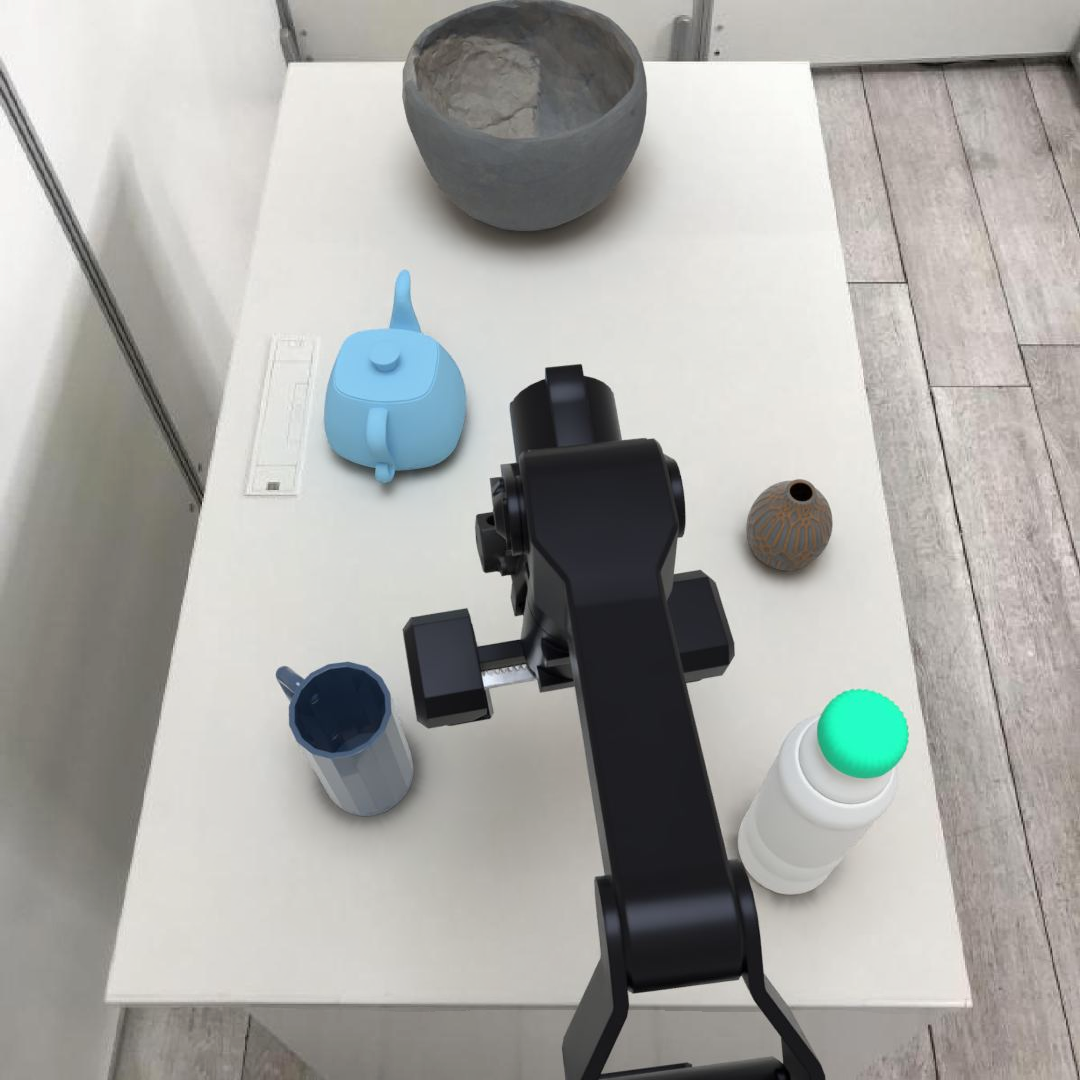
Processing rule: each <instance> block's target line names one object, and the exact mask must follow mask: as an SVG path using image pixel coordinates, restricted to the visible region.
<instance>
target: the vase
mask: <svg viewBox="0 0 1080 1080" xmlns="http://www.w3.org/2000/svg"><path fill="white" fill-rule="evenodd" d="M833 523H834V521H833V513H832V510H831V506H830V504H829V502H828V500H827V498H826V497H825V496H824V494H823V493H822V492H821V491H820V490H819V489H817V488H816V487H815V486H814V484H813V483H811V482H810V481H809V480H806V479H802V478H797V479H794V480H793V479H792V480H783V481H779V482H776V483H774V484H772V485H769V487H767V488H766V489H764V490H763V491H762V492H761V493H760V494H759V495H758V496H757V497H756V499H755V500H754V502H753V503H752V505H751V508H750V509H749V512H748V515H747V519H746V537H747V541H748V544H749V547H750V548H751V550H752V553H754V556H756V557H757V558H758V560H759V561H761V562H762V564H765V565H767V566H768V567H771V568H773V569H776V570H781V571H796V570H800V569H802V568H806V567H807V566H809V565H810V564H812V563H813V562H815V561H816V560H817V559H818V558H819V557H820V556H821V555H822V554H823V552H825V550H826V548H827V546H828V544H829V542H830V540H831V536H832V533H833V527H834V526H833Z"/></svg>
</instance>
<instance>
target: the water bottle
mask: <svg viewBox="0 0 1080 1080" xmlns="http://www.w3.org/2000/svg"><path fill="white" fill-rule="evenodd" d="M907 722H908V720H907V718H906V717H905V715H904V712H903V711H902V710H901V709H900V706H899V705H896V704H895V702H894V701H893V700H890V699H889V697H888V696H885V695H883V694H882V693H881V692H877V691H875V690H869V689H868V688H865V689H862V688H857V689H854V688H851V689H849V690H844V691H842V692H841V693H839V694H837V695H835V697H834V698H832V699H830V701H829V703H827V705H826V706H825V707H824V709H823V710H822V712H821V713H818V714H814V715H811V716H809V717H807V718H805V719H803V720H802V721H800V722H798V723H797V724H796V725H795V726H794V727H793V728H792V729H790V730H789V732H788V734H787V735H786V736H785V737H784V739H783V741H782V743H781V745H780V748H779V750H778V754H777V755H776V757H775V758H774V760H773V762H772V763H771V765H770V767H769V768H768V770H767V773H766V775H765V777H764V779H763V781H762V784H761V786H760V788H759V790H758V792H757V793H756V794H755V796H754V798H753V800H752V802H751V804H750V807H749V809H748V810H747V812H746V813H745V814H744V817H743V819H742V820H741V823H740V826H739V829H738V833H737V848H738V853H739V857H740V861H741V862H742V863H743V866H744V868H745V870H746V872H747V873H748V875H750V876H751V877H752V879H754V880H755V881H756V882H757V883H758V884H759V885H760V886H762V887H764V888H766V889H767V890H770V891H771V892H774V893H777V894H780V895H781V894H782V895H792V896H793V895H802V894H805V893H809V892H811V891H812V890H814V889H816V888H817V887H819V886H820V885H821V884H822V883H823V882H825V881H826V879H827V878H828V877H829V876H830V875H831V873H832V871H833V870H834V869H835V868H836V867H837V866H838V865H839V864H840V863H841V862H842V861H843V860H844V858H845V856H846V854H847V853H849V852H850V851H851V850H852V849H853V848H854V847H855V846H856V845H857V844H858V843H859V842H860V840H861V839H863V837H864V836H865V835H866V834H867V832H868V831H869V830H870V829H871V827H872V826H873V825H874V823H875V822H876V821H877V820H879V819H880V818H881V817H882V816H883V815H884V814H885V813H886V812H887V811H888V809H889V808H890V806H891V805H892V803H893V802H894V799H895V796H896V794H897V792H898V791H897V790H898V786H899V768H898V764H899V762H900V761H901V760H902V759H903V757H904V755H905V754H906V752H907V749H908V744H909V741H910V739H909V738H910V732H909V725H908V724H907Z"/></svg>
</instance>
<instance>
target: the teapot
mask: <svg viewBox="0 0 1080 1080" xmlns="http://www.w3.org/2000/svg"><path fill="white" fill-rule="evenodd" d="M411 278H412V277H411V273H410V271H409V270H408V269H402V270H400V272H399V273H398V274H397V276H396V280H395V284H394V294H393V303H392V310H391V316H390V321H389V326H388V328H374V329H373V328H371V329H365V330H361V331H357V332H353V333H352V334H350V335H348V336H347V337H346V338H345V339H344V340H343V342H342V344H341V345H340V348H339V351H338V353H337V356H336V358H335V360H334V363H333V366H332V369H331V372H330V375H329V378H328V382H327V386H326V390H325V399H324V410H323V411H324V412H323V425H324V432H325V437H326V440H327V443H328V444H329V447H330V448H331V449H332V450H333V451H334V452H335V454H337V455H338V456H340V457H342V458H343V459H345V460H348V461H350V462H352V463H354V464H357V465H361V466H364V467H368V468H372V469H375V473H374V479H375V480H376V481H377V482H378V483H382V484H386V483H390V482H392V480H393V479H394V477H395V473H396V471H412V470H419V469H424V468H428V467H429V468H430V467H433V466H435V465H437V464H440V463H442V462H443V461H445V460H446V459H447V458H448V457H450V455H451V454H452V453H453V452H454V450H455V449H456V447H457V445H458V443H459V440H460V437H461V435H462V431H463V427H464V424H465V419H466V413H467V412H466V411H467V395H466V394H467V392H466V384H465V381H464V378H463V375H462V373H461V370H460V367H459V366H458V364H457V362H456V361H455V359H454V358H453V357H452V355H451V354H450V353H449V352H448V351H447V350H446V349H445V347H444V346H443V345H442V344H440V343H439V342H438V341H437V340H436V339H435V338H433V337H432V336H430V335H428V334H425V333H422V329H421V328H422V327H421V325H420V323H419V320H418V317H417V315H416V312H415V309H414V306H413V302H412V296H411V294H412V293H411V287H412V286H411V285H412V282H411V281H412V279H411Z"/></svg>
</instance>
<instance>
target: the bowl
mask: <svg viewBox="0 0 1080 1080" xmlns="http://www.w3.org/2000/svg"><path fill="white" fill-rule="evenodd" d="M647 83H648V82H647V75H646V70H645V66H644V61H643V59H642V56H641V54H640V51H639V50H638V47H637V46H636V44H635V43H634V41H633V39H631V38H630V36H629V35H628V34H627V33H626V32H625V31H624V30H623V29H622V27H620V25H618V24H617V23H616V22H615V21H614V20H613V19H611V18H610V17H609V16H607V15H605V14H603V13H601V12H599V11H596V10H593V9H590V8H588V7H586V6H582V5H578V4H575V3H571V2H568V1H565V0H564V1H563V0H491V1H487V2H484V3H479V4H476V5H471V6H468V7H466V8H464V9H462V10H460V11H457V12H454V13H452V14H451V15H448V16H445V17H443V18H442V19H439V21H436V22H434V23H432V24H431V25H429V26H427V27H426V28H424V30H423V31H422V32H421V33H420V34H419V35H418V36H417V37H416V39H415V40H414V41H413V43H412V45H411V47H410V49H409V51H408V54H407V56H406V60H405V62H404V64H403V68H402V91H401V92H402V93H401V98H402V103H403V109H404V114H405V119H406V122H407V125H408V128H409V130H410V132H411V135H412V138H413V139H414V142H415V145H416V147H417V149H418V152H419V154H420V156H421V158H422V161H423V162H424V164H425V165H426V168H427V170H428V172H429V174H430V176H431V177H432V179H433V181H434V182H435V183H436V185H437V186H438V188H439V189H440V190H441V192H442V193H443V194H444V195H445V196H446V197H447V199H449V200H450V201H451V202H452V203H453V204H454V205H455V206H456V207H458V209H459V210H461V211H463V212H464V213H465V214H466V215H468V216H470V217H471V218H473V219H475V220H477V221H480V222H482V223H485V224H486V225H489V226H493V227H495V228H498V229H502V230H507V231H517V232H531V231H532V232H535V231H543V230H548V229H552V228H556V227H559V226H562V225H563V224H566V223H568V222H572V221H573V220H575V219H578V218H580V217H582V216H583V215H585V214H586V213H588V212H590V211H592V210H593V209H595V208H597V206H599V205H600V204H601V203H603V202H604V201H606V199H608V197H609V196H610V195H611V194H612V192H613V191H614V190H615V189H616V187H617V186H618V185H619V184H620V181H621V180H622V179H623V177H624V175H625V173H626V172H627V171H628V168H629V166H630V164H631V163H632V161H633V158H634V156H635V155H636V152H637V150H638V148H639V146H640V142H641V139H642V136H643V133H644V129H645V124H646V123H645V122H646V116H647V107H648V106H647V105H648V85H647Z"/></svg>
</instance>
